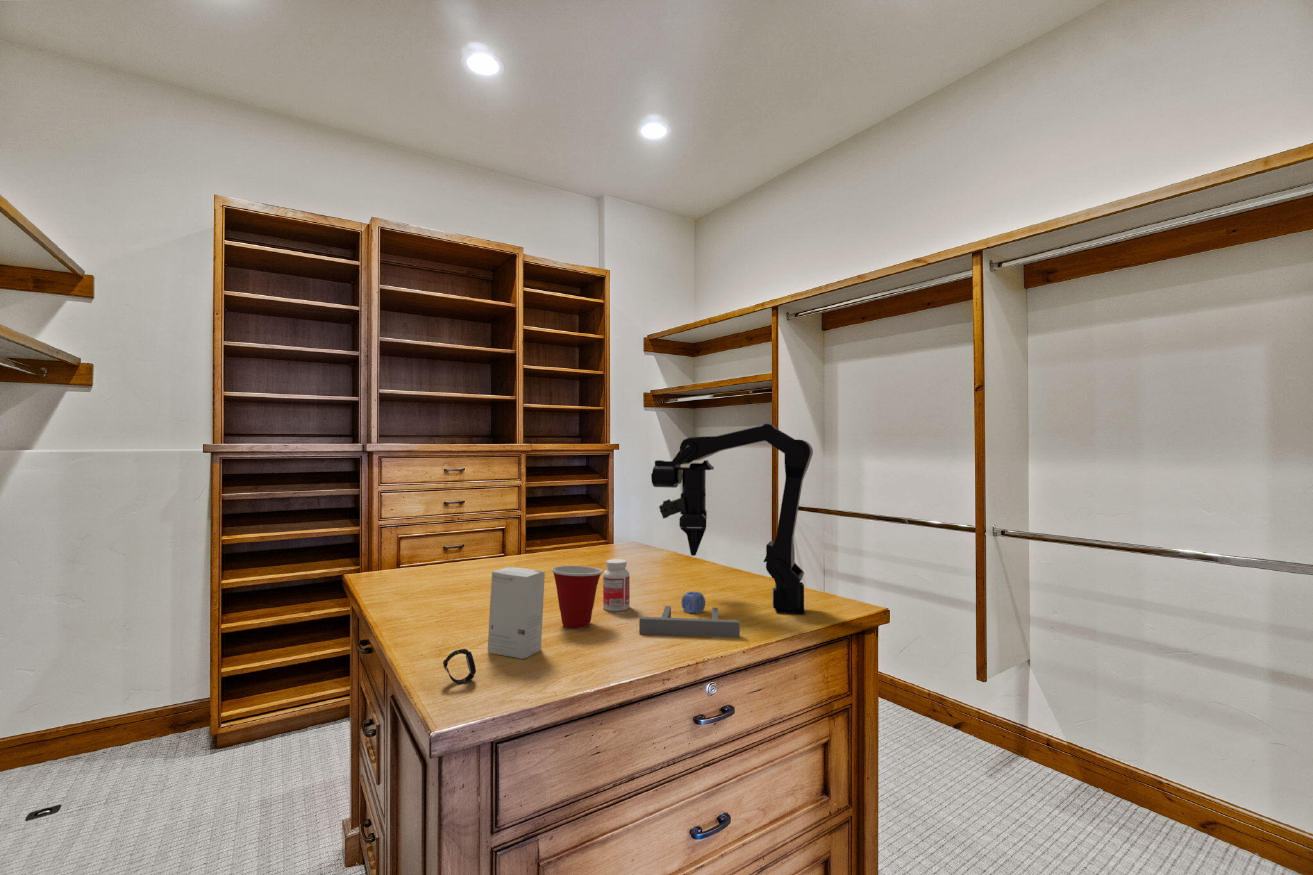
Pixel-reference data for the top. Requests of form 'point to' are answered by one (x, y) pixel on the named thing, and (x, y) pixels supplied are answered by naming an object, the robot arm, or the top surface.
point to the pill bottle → (616, 586)
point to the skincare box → (516, 612)
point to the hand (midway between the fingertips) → (693, 551)
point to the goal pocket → (689, 626)
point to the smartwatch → (469, 662)
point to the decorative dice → (693, 602)
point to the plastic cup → (576, 593)
